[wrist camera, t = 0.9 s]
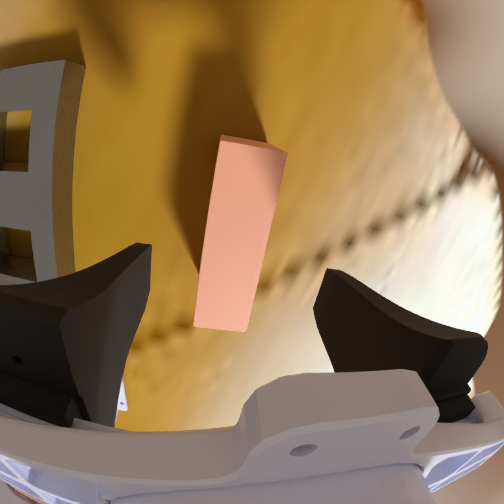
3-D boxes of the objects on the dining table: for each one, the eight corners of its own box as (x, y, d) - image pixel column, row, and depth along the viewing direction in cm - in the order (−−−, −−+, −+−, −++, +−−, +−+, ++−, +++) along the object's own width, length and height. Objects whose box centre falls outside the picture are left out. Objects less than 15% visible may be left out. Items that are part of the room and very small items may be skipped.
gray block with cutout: (78, 298, 22) (64, 320, 19) (1, 280, 20) (-15, 297, 17) (85, 65, 14) (65, 59, 12) (-4, 77, 13) (-28, 76, 10)
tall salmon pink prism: (239, 279, 22) (245, 332, 17) (198, 274, 22) (193, 326, 16) (267, 142, 18) (287, 153, 13) (220, 134, 18) (220, 140, 12)
